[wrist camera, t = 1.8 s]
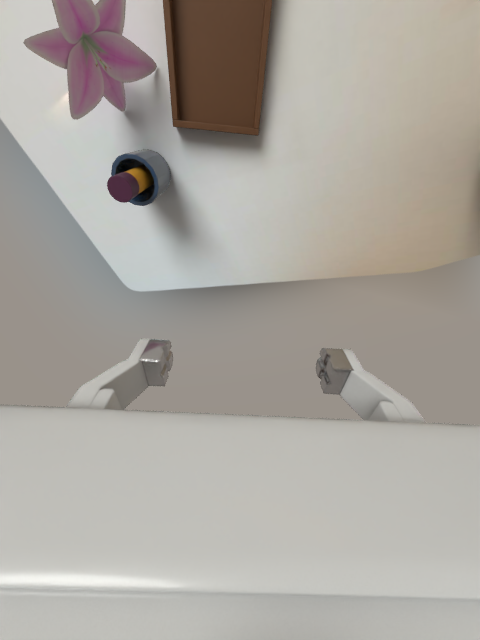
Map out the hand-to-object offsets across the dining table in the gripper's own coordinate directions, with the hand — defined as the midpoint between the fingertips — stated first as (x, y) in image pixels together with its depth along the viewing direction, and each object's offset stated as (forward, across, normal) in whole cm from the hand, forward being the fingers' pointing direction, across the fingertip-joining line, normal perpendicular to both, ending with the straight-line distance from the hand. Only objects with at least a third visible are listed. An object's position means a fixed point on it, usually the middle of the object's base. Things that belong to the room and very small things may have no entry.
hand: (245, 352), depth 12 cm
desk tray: (+32, +4, -20) cm, 38 cm away
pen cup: (+33, +15, -6) cm, 36 cm away
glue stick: (+32, +15, -6) cm, 36 cm away
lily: (+32, +17, -17) cm, 40 cm away
